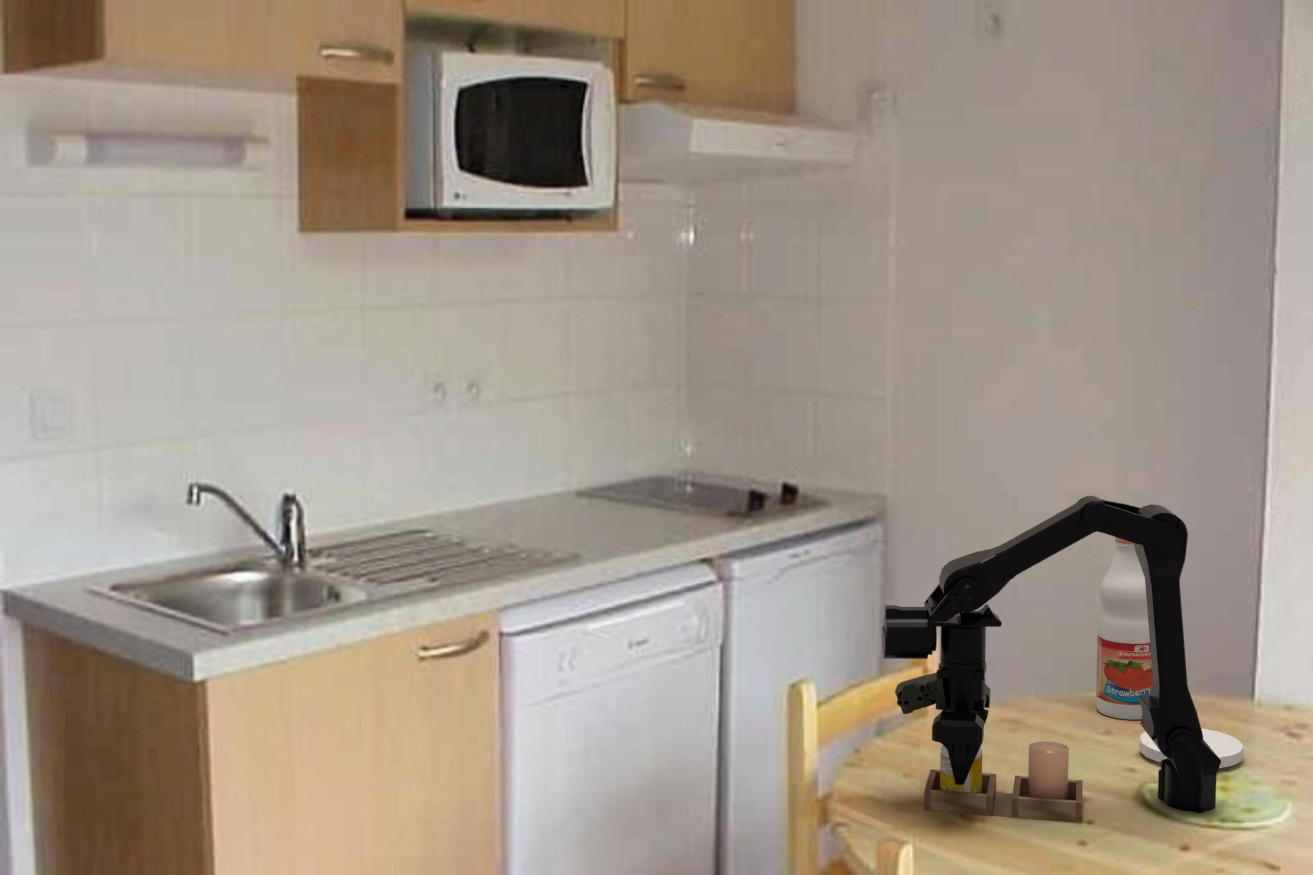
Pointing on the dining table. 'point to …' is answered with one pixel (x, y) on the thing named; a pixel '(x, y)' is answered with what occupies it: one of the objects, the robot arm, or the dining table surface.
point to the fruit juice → (1123, 637)
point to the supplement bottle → (972, 780)
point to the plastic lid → (1218, 742)
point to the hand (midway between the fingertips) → (961, 775)
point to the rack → (1004, 800)
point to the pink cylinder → (1048, 770)
